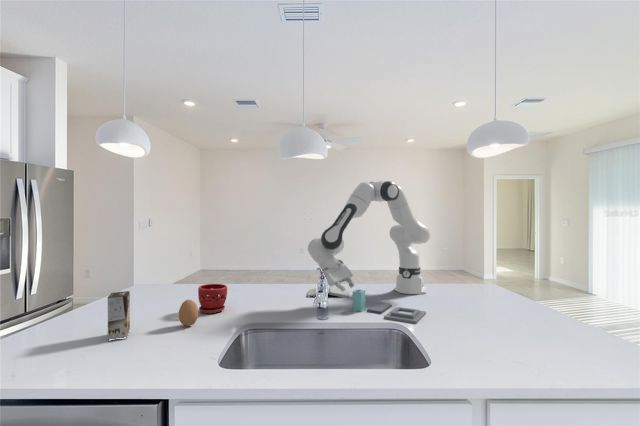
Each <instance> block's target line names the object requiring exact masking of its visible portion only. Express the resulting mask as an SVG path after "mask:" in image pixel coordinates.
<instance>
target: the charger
mask: <svg viewBox="0 0 640 426" xmlns="http://www.w3.org/2000/svg"><path fill="white" fill-rule="evenodd" d="M365 310H366V290H365V289H364V290H363V289H355V290H353V291H352V311H354V312H361V313H363V312H364V311H365Z"/></svg>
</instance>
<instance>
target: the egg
mask: <svg viewBox="0 0 640 426" xmlns="http://www.w3.org/2000/svg"><path fill="white" fill-rule="evenodd" d="M178 319H179V322H180V323H181V324H182V325H183V326H185V327H191V326H190V325H192V326H193V325H194V324H196V322H197V320H198V319H199V307H198V306H197V304H196V302H195V301H194V300H193V299H186V300H184V301H183V302H182V303H181V305H180V307H179V310H178Z"/></svg>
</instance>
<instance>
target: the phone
mask: <svg viewBox="0 0 640 426" xmlns="http://www.w3.org/2000/svg"><path fill="white" fill-rule="evenodd" d="M392 305H393V304H389V303H381V302H377V303H375V304H374V305H372V306H371V307H369V308H368V309H367V310H366V312H367V313H373V314H380V315H382V314H384V313H385V312H386V311H388V309H391V308H392Z"/></svg>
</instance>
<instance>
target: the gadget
mask: <svg viewBox="0 0 640 426" xmlns="http://www.w3.org/2000/svg"><path fill="white" fill-rule="evenodd" d="M316 288H317V287H316ZM316 288H315V287H314V288H311V289H309V290H308V293H307V296H313V297H312V298H314V297H317V296H316V293H317V292H316ZM328 288H329V294H328V295H330V296H335V297H338V298H339V297H340V298H345V299H347V298H350V297H349V296H350V293H349V289H345V290H344V291H341V290H340V289H339V288H337V287H336V286H330V285H329V287H328Z"/></svg>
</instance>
